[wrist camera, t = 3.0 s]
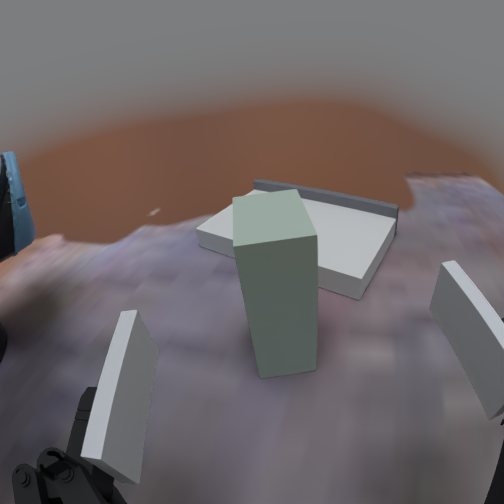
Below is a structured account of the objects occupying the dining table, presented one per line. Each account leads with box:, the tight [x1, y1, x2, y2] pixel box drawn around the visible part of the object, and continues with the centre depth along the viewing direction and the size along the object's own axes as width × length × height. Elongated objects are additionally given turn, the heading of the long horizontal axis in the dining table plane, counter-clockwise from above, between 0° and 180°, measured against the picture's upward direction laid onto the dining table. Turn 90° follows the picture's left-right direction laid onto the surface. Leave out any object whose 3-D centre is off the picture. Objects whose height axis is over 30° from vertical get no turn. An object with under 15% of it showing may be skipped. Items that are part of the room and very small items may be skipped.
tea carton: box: [233, 189, 318, 379], centre depth 25 cm, size 5×7×14 cm
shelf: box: [196, 179, 399, 300], centre depth 43 cm, size 24×16×4 cm, turn 54°
